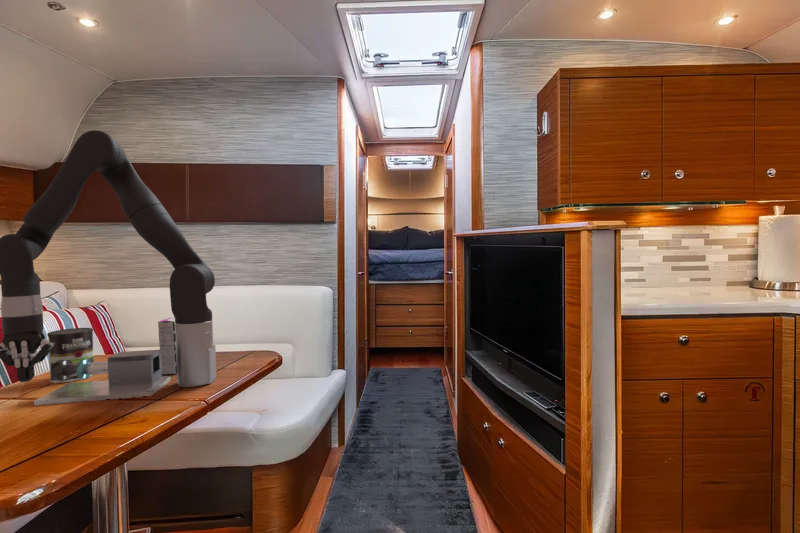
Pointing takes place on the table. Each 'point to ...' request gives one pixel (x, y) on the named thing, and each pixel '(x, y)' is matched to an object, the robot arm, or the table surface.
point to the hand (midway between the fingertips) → (26, 380)
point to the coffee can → (71, 348)
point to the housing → (116, 380)
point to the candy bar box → (168, 346)
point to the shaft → (77, 369)
